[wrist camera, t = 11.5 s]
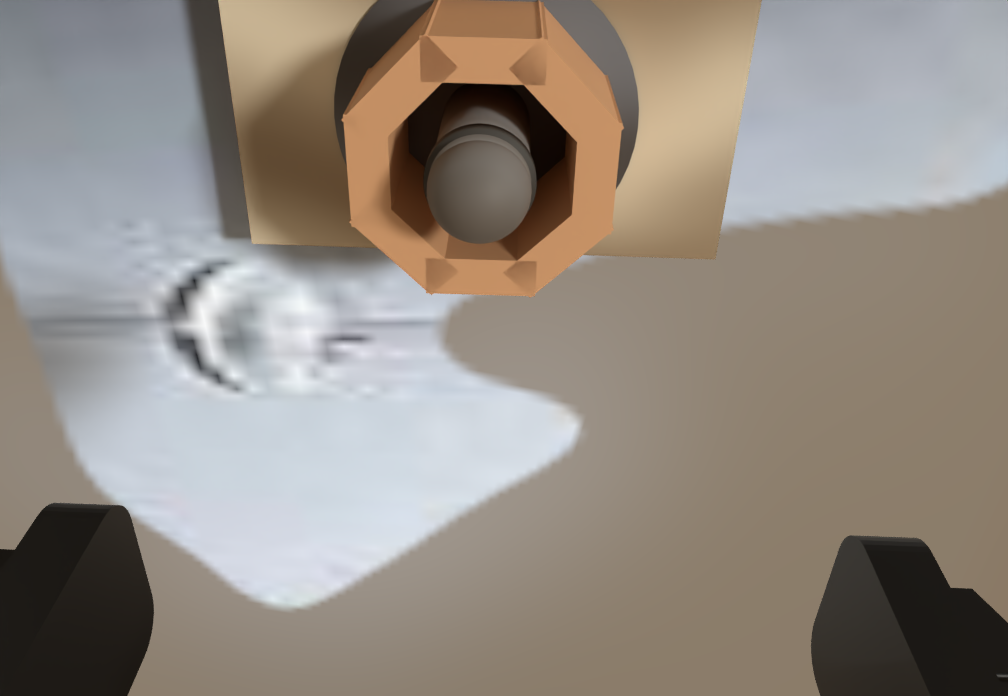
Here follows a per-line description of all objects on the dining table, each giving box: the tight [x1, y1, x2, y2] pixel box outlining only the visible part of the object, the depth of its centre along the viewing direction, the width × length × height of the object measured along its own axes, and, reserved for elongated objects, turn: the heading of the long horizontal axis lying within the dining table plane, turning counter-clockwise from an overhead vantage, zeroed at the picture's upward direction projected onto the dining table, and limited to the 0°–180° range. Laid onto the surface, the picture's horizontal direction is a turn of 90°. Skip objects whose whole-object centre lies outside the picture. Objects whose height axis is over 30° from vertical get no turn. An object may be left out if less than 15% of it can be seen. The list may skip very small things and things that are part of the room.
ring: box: [342, 0, 624, 297], centre depth 22 cm, size 6×6×4 cm
